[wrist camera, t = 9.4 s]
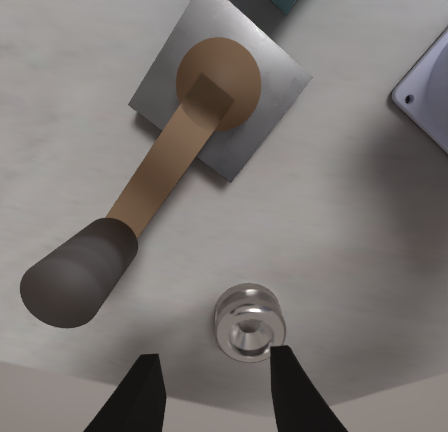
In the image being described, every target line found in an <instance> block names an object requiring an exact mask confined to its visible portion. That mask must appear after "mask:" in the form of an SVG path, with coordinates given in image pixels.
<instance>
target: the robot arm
mask: <svg viewBox="0 0 448 432" xmlns="http://www.w3.org/2000/svg"><path fill="white" fill-rule="evenodd" d="M406 96H409V98H410V101H409V103H408V104H406V102H405V98H406ZM392 100H393V101H394V102H395V103H396V104H397V105H398V106H399V107H400V108H401V109H402V110H403V111H404V112H405V113H406V114H407V115H408V116H409V117H410V118H411V119H412V120H413V121H414V122H415V123H416V124H417V125H418V126H419V127H420V128H422V129H423V130H424V131H425V132H426V133H427V134H428V135H429V136H430V137H431V138H432V139H433V140H434V141H435V142H436V143H437V144H438V145H439V146H440V147H441V148H442V149H443V150H444V151H445V152H446V153H447V154H448V28H447V29H446V30H445V31H444V32H443V34H442V35H441V36H440V37H439V38H438V39H437V41H436V42H435V43H434V44H433V45H432V46H431V47H430V49H429V50H428V51H427V52H426V53H425V54H424V55H423V57H422V58H421V59H420V60H419V61H418V62H417V64H416V65H415V66H414V67H413V68H412V69H411V70H410V72H409V73H408V74H407V75H406V76H405V77H404V78H403V80H402V81H401V82H400V83H399V84H398V85H397V87H396V88H395V89H394V90H393V92H392ZM270 364H271V392H272V399H273V405H274V412H275V418H276V424H277V429H278V432H348V431H347V430H346V428H345V427H344V426H343V425H342V423H341V422H340V421H339V420H338V418H337V417H336V416H335V414H334V413H333V412H332V410H331V409H330V408H329V406H328V405H327V403H326V402H325V401H324V399H323V398H322V396H321V395H320V394H319V392H318V391H317V389H316V388H315V387H314V385H313V384H312V382H311V381H310V379H309V378H308V376H307V375H306V373H305V371H304V370H303V368H302V367H301V365H300V364H299V362H298V360H297V358H296V357H295V355H294V353H293V351H292V349H291V348H290V347H289V346H288V345H285V346H270ZM166 398H167V397H166V392H165V386H164V381H163V376H162V370H161V365H160V360H159V355H158V354H144V355H140V357H139V358H138V359H137V360H136V362H135V363H134V365H133V366H132V368H131V369H130V370H129V372H128V373H127V375H126V376H125V377H124V379H123V380H122V382H121V383H120V384H119V386H118V387H117V388H116V390H115V391H114V393H113V394H112V395H111V397H110V398H109V399H108V401H107V402H106V403H105V405H104V406H103V407H102V408H101V410H100V411H99V412H98V414H97V415H96V416H95V418H94V419H93V420H92V422H91V423H90V424H89V425H88V426H87V428H86V429H85V430H84V432H162V427H163V420H164V412H165V405H166Z"/></svg>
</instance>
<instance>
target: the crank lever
mask: <svg viewBox="0 0 448 432" xmlns="http://www.w3.org/2000/svg"><path fill="white" fill-rule="evenodd" d="M176 92H177V97H178V100H179V103H180V105H179V107H178V108H177V110H176V111H175V113H174V114H173V116H172V117H171V119H170V120H169V122H168V123H167V125H166V126H165V128H164V129H163V131H162V132H161V134H160V135H159V137H158V138H157V140H156V142H155V143H154V145H153V146H152V148H151V149H150V151H149V152H148V154H147V155H146V157H145V158H144V160H143V161H142V163H141V164H140V166H139V167H138V169H137V170H136V172H135V173H134V175H133V176H132V178H131V179H130V181H129V182H128V184H127V185H126V187H125V188H124V190H123V192H122V193H121V195H120V196H119V198H118V199H117V201H116V202H115V204H114V205H113V207H112V208H111V210H110V211H109V213H108V214H107V216H106V217H105V218H101V219H98V220H95V221H94V222H92V223H91V224H89V225H88V226H87V227H85V228H84V229H83V230H81V231H80V232H79V233H77V234H76V235H74V236H73V237H72V238H70V239H69V240H68V241H66V242H65V243H64V244H62V245H61V246H59V247H58V248H57V249H55V250H54V251H53V252H51V253H50V254H49V255H47V256H46V257H44V258H43V259H42V260H40V261H39V262H38V263H36V264H35V265H34V266H32V267H31V268H29V269H28V270H27V271H26V273H25V274H24V275H23V277H22V280H21V283H20V294H21V298H22V301H23V303H24V305H25V306H26V308H27V309H28V310H29V311H30V313H31V314H33V315H34V316H35V317H36V318H37V319H39V320H40V321H42V322H44V323H46V324H48V325H51V326H54V327H59V328H75V327H79V326H82V325H84V324H86V323H88V322H89V321H90V320H91V319H93V317H94V316H95V315H96V313H97V312H98V310H99V309H100V307H101V306H102V305H103V303H104V302H105V300H106V299H107V297H108V296H109V294H110V293H111V291H112V290H113V288H114V287H115V285H116V284H117V282H118V281H119V279H120V278H121V276H122V275H123V273H124V272H125V271H126V269H127V268H128V266H129V265H130V263H131V262H132V260H133V259H134V257H135V256H136V253H137V250H138V241H137V238H138V237H139V236H140V234H141V233H142V231H143V230H144V229H145V227H146V226H147V224H148V223H149V222H150V220H151V219H152V217H153V216H154V215H155V213H156V212H157V210H158V209H159V208H160V206H161V205H162V203H163V202H164V201H165V199H166V198H167V196H168V195H169V194H170V192H171V191H172V189H173V188H174V187H175V185H176V184H177V182H178V181H179V180H180V178H181V177H182V175H183V174H184V173H185V171H186V170H187V168H188V167H189V166H190V164H191V163H192V161H193V160H194V159H195V157H196V156H197V154H198V153H199V152H200V150H201V149H202V148H203V146H204V145H205V143H206V142H207V141H208V139H209V138H210V136H211V135H212V134H213V132H214V131H226V130H230V129H233V128H236V127H238V126H239V125H241V124H242V123H244V122H245V121H246V120H247V119H248V118H249V117H250V116H251V115H252V113H253V112H254V110H255V108H256V106H257V104H258V101H259V98H260V94H261V75H260V71H259V68H258V65H257V63H256V61H255V59H254V57H253V56H252V55H251V53H250V52H249V51H248V50H247V49H246V48H245V47H244V46H242V45H241V44H240V43H238V42H236V41H234V40H231V39H228V38H222V37H215V38H209V39H205V40H203V41H201V42H199V43H197V44H196V45H194V46H193V47H192V48H191V49H190V50H189V51H188V52H187V53H186V54H185V56H184V57H183V59H182V61H181V63H180V65H179V68H178V71H177V76H176Z"/></svg>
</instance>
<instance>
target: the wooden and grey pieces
mask: <svg viewBox="0 0 448 432" xmlns="http://www.w3.org/2000/svg"><path fill="white" fill-rule="evenodd" d="M215 37H222V38H228V39H231V40H234V41H236V42H238V43H240V44H241V45H242V46H244V47H245V48H246V49H247V50H248V51H249V52H250V53H251V55H252V56H253V57H254V59H255V61H256V63H257V65H258V68H259V71H260V75H261V94H260V98H259V101H258V104H257V106H256V108H255V110H254V112H253V113H252V115H251V116H250V117H249V118H248V119H247V120H246V121H245V122H244V123H242V124H241V125H239V126H238V127H236V128H233V129H230V130H226V131H214V132H213V134H212V135H211V136H210V138H209V139H208V141H207V142H206V143H205V145H204V146H203V148H202V149H201V150H200V152H199V153H198V154H197V156H196V157H198V158H199V159H200V160H202V161H203V162H204V163H206V164H207V165H208V166H210V167H211V168H212V169H214V170H215V171H216V172H218V173H219V174H220V175H222V176H223V177H224V178H225V179H227V180H228V181H229V182H232V181H233V179H234V178H235V177H236V176H237V174H238V173H239V172H240V170H241V169H242V168H243V167H244V165H245V164H246V163H247V161H248V160H249V159H250V158H251V156H252V155H253V154H254V152H255V151H256V150H257V149H258V147H259V146H260V145H261V143H262V142H263V141H264V140H265V138H266V137H267V136H268V134H269V133H270V132H271V131H272V129H273V128H274V127H275V125H276V124H277V123H278V122H279V120H280V119H281V118H282V116H283V115H284V114H285V113H286V111H287V110H288V109H289V107H290V106H291V105H292V104H293V102H294V101H295V100H296V98H297V97H298V96H299V94H300V93H301V92H302V91H303V89H304V88H305V87H306V85H307V84H308V83H309V82H310V80H311V79H312V78H313V77H312V76H311V75H310V74H309V73H307V72H306V71H305V70H304V69H303V68H302V67H301V66H300V65H299V64H298V63H296V62H295V61H294V60H293V59H292V58H291V57H290V56H289V55H288V54H287V53H286V52H284V51H283V50H282V49H281V48H280V47H279V46H278V45H277V44H276V43H275V42H273V41H272V40H271V39H270V38H269V37H268V36H267V35H266V34H265V33H264V32H263V31H261V30H260V29H259V28H258V27H257V26H256V25H255V24H254V23H253V22H252V21H251V20H249V19H248V18H247V17H246V16H245V15H244V14H243V13H242V12H241V11H240V10H238V9H237V8H236V7H235V6H234V5H233V4H232V3H231V2H230V1H229V0H191V2H190V3H189V5H188V7H187V8H186V10H185V11H184V13H183V15H182V16H181V18H180V20H179V21H178V23H177V25H176V26H175V28H174V30H173V31H172V33H171V35H170V36H169V38H168V40H167V41H166V43H165V44H164V46H163V48H162V49H161V51H160V53H159V54H158V56H157V58H156V59H155V61H154V63H153V64H152V66H151V68H150V69H149V71H148V73H147V74H146V76H145V77H144V79H143V81H142V82H141V84H140V86H139V87H138V89H137V91H136V92H135V94H134V96H133V97H132V99H131V101H130V102H129V104H128V105H129V106H130V107H131V108H133V109H134V110H135V111H137V112H138V113H139V114H141V115H142V116H143V117H145V118H146V119H147V120H149V121H150V122H151V123H153V124H154V125H155V126H157V127H158V128H159V129H161V130H162V131H163V129H164V128H165V126H166V125H167V123H168V122H169V120H170V119H171V117H172V116H173V114H174V113H175V111H176V110H177V108H178V107H179V105H180V103H179V100H178V97H177V92H176V76H177V71H178V68H179V65H180V63H181V61H182V59H183V57H184V56H185V54H186V53H187V52H188V51H189V50H190V49H191V48H192V47H193V46H194V45H196V44H197V43H199V42H201V41H203V40H205V39H209V38H215Z"/></svg>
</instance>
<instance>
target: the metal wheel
mask: <svg viewBox="0 0 448 432" xmlns="http://www.w3.org/2000/svg"><path fill="white" fill-rule="evenodd" d="M248 319H249V320H248ZM285 337H286V324H285V321H284V318H283V315H282V311H281V308H280V305H279V302H278V299H277V298H276V296H275V295H274V293H273V292H272V291H270V290H269V289H268V288H266V287H264V286H262V285H259V284H254V283H243V284H239V285H235V286H233V287H231V288H229V289H228V290H226V291H225V292H224V293H223V294H222V295H221V296H220V298H219V299H218V301H217V304H216V309H215V339H216V342H217V344H218V346H219V348H220V349H221V350H222V351H223V352H224V353H225V354H226V355H227V356H228V357H230V358H232V359H234V360H236V361H239V362H244V363H255V362H260V361H264V360H266V359H268V358H270V346H282V345H283V343H284V341H285Z"/></svg>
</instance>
